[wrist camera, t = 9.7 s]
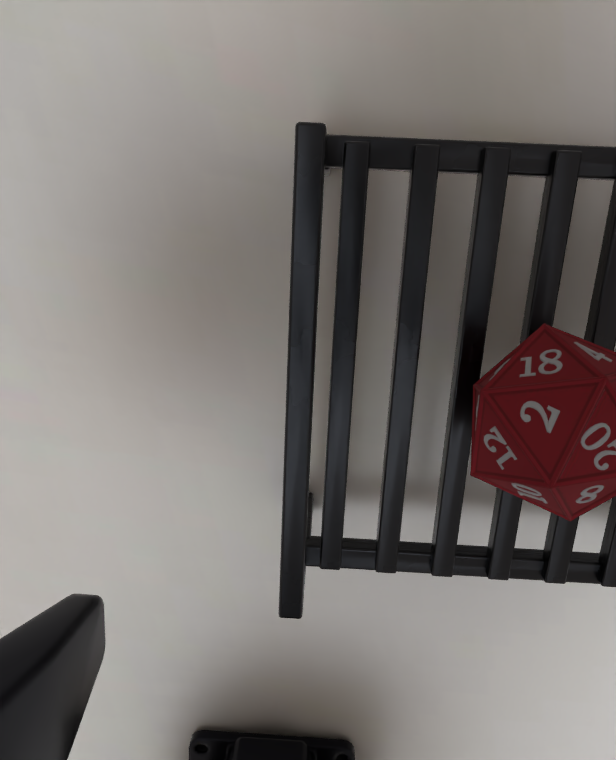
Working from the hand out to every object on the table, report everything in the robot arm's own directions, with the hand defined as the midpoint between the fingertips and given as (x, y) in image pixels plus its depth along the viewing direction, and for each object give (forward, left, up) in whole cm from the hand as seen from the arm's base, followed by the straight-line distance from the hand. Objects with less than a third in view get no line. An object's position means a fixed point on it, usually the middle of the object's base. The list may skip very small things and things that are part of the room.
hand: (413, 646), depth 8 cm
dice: (+2, -4, -8) cm, 9 cm away
